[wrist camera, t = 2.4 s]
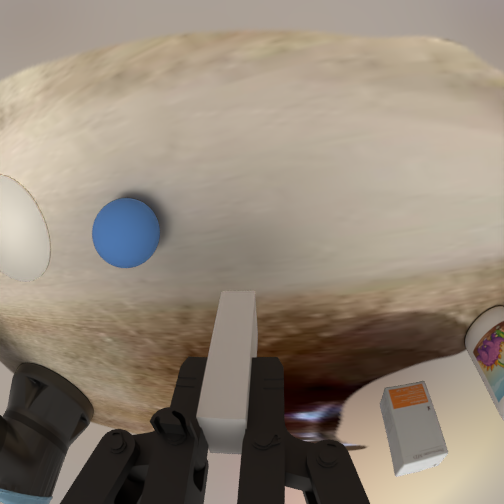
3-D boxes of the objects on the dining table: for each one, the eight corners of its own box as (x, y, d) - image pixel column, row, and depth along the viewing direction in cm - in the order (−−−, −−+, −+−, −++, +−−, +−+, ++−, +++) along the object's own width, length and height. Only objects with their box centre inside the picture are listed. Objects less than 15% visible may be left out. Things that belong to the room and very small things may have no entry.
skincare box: (424, 378, 36) (450, 452, 26) (416, 396, 38) (438, 466, 28) (383, 386, 37) (403, 465, 26) (378, 404, 39) (394, 478, 28)
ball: (136, 257, 28) (113, 292, 24) (98, 211, 26) (68, 240, 21) (180, 227, 27) (162, 260, 22) (140, 175, 25) (112, 199, 20)
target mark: (20, 296, 32) (20, 297, 32) (-39, 218, 27) (-40, 219, 27) (71, 246, 28) (70, 247, 28) (-1, 149, 23) (-2, 149, 23)
